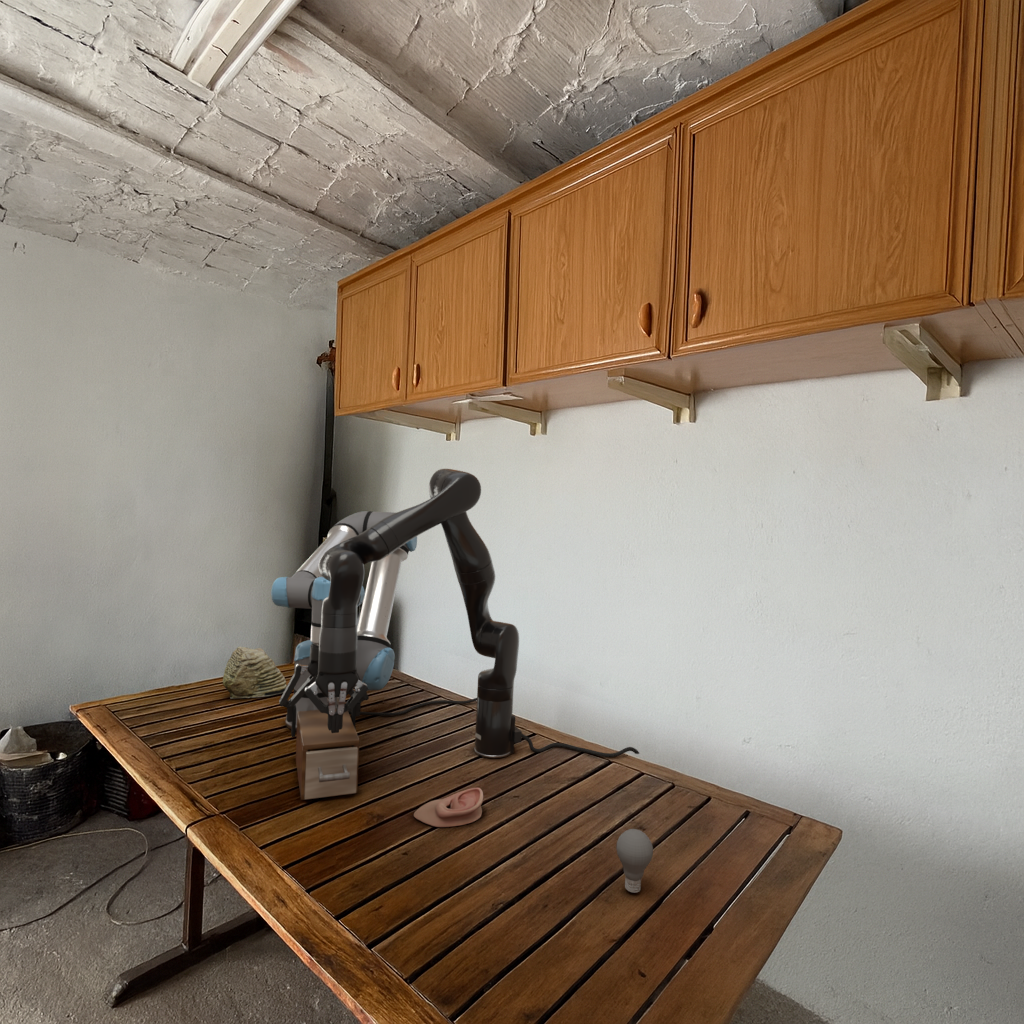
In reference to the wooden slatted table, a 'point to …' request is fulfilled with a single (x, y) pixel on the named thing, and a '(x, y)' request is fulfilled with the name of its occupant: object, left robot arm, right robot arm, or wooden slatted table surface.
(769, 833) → the wooden slatted table surface
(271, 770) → the wooden slatted table surface
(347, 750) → the drawer
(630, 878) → the light bulb
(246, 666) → the fossil
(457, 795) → the anatomical model
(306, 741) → the cabinet
